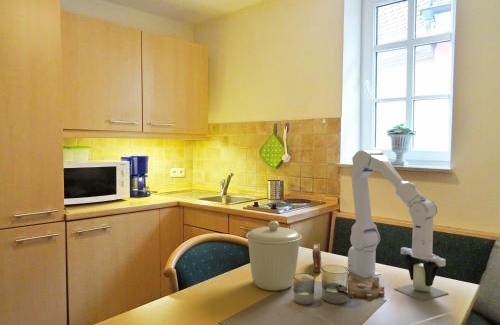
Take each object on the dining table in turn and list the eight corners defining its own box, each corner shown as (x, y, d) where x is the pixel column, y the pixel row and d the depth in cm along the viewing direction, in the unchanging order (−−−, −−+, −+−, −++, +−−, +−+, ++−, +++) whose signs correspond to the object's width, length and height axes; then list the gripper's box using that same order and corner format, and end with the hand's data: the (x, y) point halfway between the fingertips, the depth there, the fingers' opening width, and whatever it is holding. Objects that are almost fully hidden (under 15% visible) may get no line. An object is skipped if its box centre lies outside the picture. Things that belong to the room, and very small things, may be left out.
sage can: (409, 286, 117) (410, 264, 117) (420, 284, 119) (421, 262, 119) (422, 292, 113) (423, 269, 112) (434, 289, 115) (435, 267, 114)
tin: (320, 275, 131) (321, 252, 130) (311, 275, 131) (312, 251, 131) (321, 262, 145) (321, 241, 145) (313, 261, 146) (313, 240, 146)
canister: (236, 290, 117) (236, 224, 116) (257, 272, 133) (257, 214, 132) (292, 300, 110) (293, 229, 109) (306, 279, 127) (307, 218, 126)
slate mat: (394, 290, 118) (394, 288, 118) (420, 284, 123) (420, 282, 123) (421, 302, 109) (421, 300, 109) (448, 295, 114) (448, 293, 114)
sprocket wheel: (346, 300, 109) (347, 286, 109) (333, 282, 123) (333, 270, 123) (393, 299, 110) (393, 285, 110) (374, 281, 124) (374, 269, 124)
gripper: (394, 235, 120) (393, 277, 120) (434, 246, 107) (433, 293, 107) (409, 233, 123) (408, 273, 124) (450, 243, 110) (449, 288, 111)
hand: (421, 282), depth 116 cm, fingers closed on sage can, 5 cm apart
